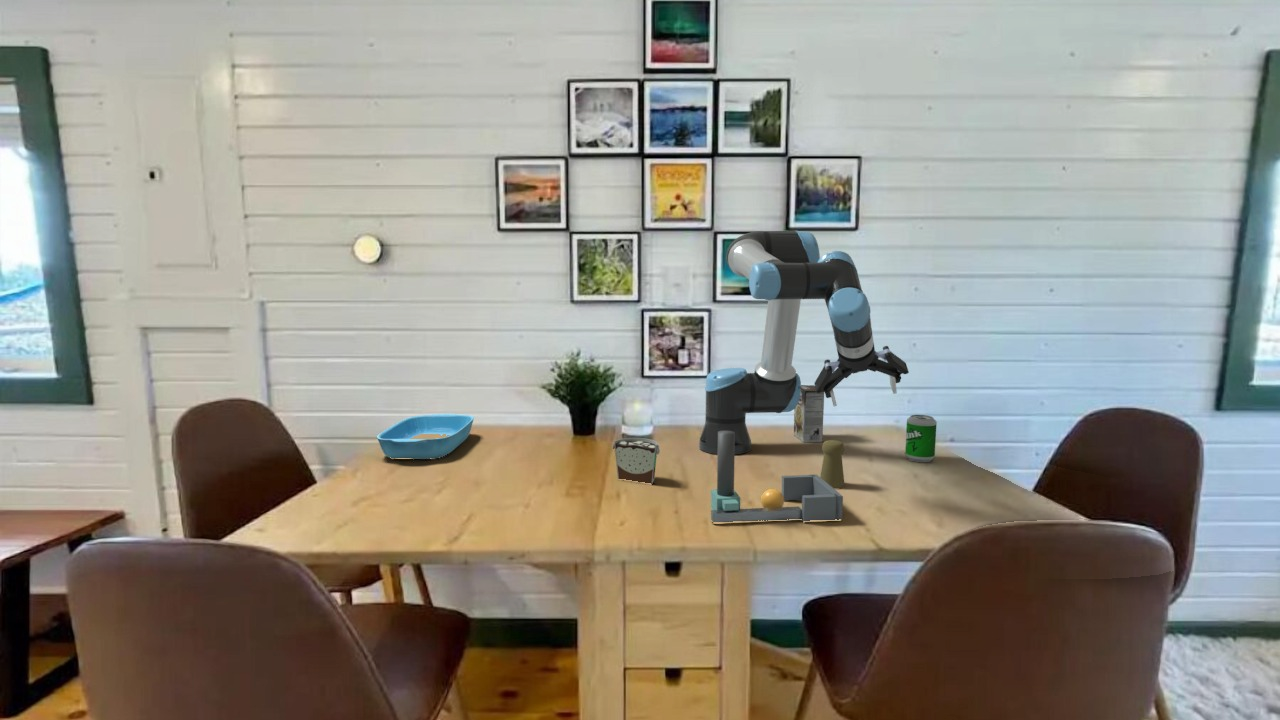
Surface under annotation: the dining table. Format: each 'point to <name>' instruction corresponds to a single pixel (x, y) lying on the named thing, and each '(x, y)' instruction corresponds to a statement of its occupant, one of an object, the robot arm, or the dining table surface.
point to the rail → (757, 514)
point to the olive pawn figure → (833, 463)
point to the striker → (725, 475)
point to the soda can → (920, 438)
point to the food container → (636, 459)
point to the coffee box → (809, 415)
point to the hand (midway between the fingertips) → (863, 395)
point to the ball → (772, 499)
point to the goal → (813, 497)
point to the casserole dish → (398, 435)
